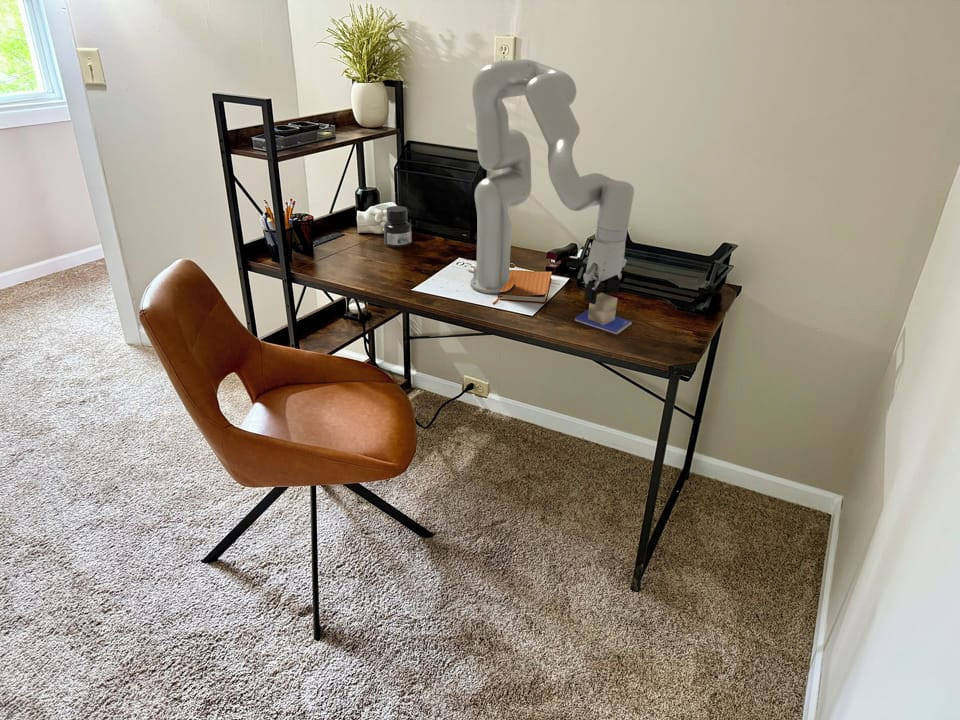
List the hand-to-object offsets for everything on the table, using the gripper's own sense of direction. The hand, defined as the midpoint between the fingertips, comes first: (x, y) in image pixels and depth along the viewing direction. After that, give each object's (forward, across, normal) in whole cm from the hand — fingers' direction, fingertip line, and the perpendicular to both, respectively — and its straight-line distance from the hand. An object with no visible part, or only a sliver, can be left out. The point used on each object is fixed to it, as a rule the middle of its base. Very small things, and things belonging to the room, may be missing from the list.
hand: (601, 297), depth 172 cm
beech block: (+6, 0, +1) cm, 6 cm away
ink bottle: (+10, 0, -81) cm, 82 cm away
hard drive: (+8, -1, +1) cm, 8 cm away
